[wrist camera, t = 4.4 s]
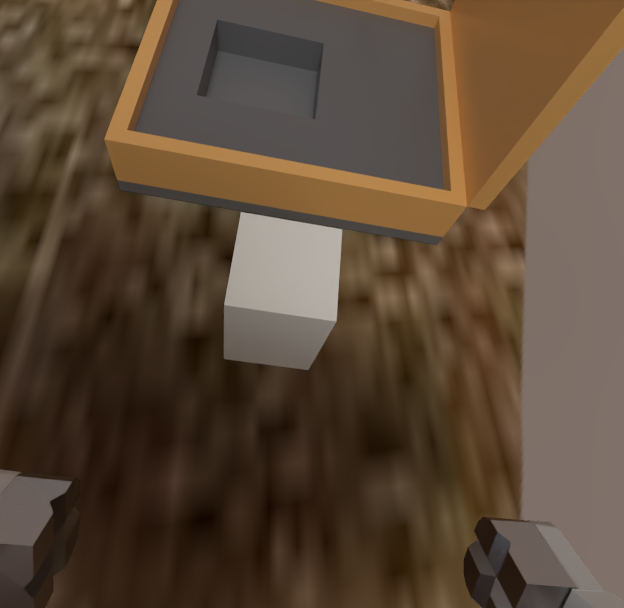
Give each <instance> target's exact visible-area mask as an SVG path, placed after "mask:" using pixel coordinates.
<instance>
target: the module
mask: <svg viewBox="0 0 624 608" xmlns="http://www.w3.org/2000/svg"><path fill="white" fill-rule="evenodd" d="M341 239H342V229H336V228H331V227H325V226H319V225H313V224H307V223H302V222H296V221H290V220H284V219H278V218H273V217H267V216H261V215H255V214H249V213H244V212H241V215H240V221H239V226H238V232H237V237H236V243H235V248H234V254H233V259H232V265H231V270H230V275H229V281H228V286H227V292H226V297H225V303H224V359H228V360H236V361H243V362H251V363H259V364H266V365H274V366H281V367H289V368H296V369H304V370H309V368H310V366H311V365H312V363H313V361H314V359H315V358H316V356H317V354H318V352H319V351H320V349H321V347H322V346H323V344H324V342H325V340H326V339H327V337H328V335H329V334H330V332H331V330H332V328H333V327H334V325H335V323H336V320H337V304H338V288H339V272H340V255H341Z"/></svg>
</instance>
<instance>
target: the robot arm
mask: <svg viewBox="0 0 624 608" xmlns="http://www.w3.org/2000/svg"><path fill="white" fill-rule="evenodd" d="M79 497H80V480H78V479H77V478H72V477H64V476H55V475H47V474H39V473H30V472H16V471H8V470H0V608H45V607H46V605H47V603H48V601H49V599H50V597H51V595H52V593H53V576H55V575H56V574H58V573H59V572H60V571H62V570H63V569H65V567H66V565H67V563H68V561H69V559H70V557H71V554H72V552H73V549H74V546H75V543H76V539H77V536H78V530H79V524H80V513H79V512H78V511H77V509H76V508H75V507H74V506H75V504H76V502H77V500H78V498H79ZM474 532H475V534H476V536H477V539H478V540H477V541H475V542H474V543H473V544H471V545H470V546H469V547H468V548H467V551H466V554H465V557H464V577H465V582H466V586H467V588H468V591H469V593H470V596H471V598H472V599H473V600H474V601H475V602H476V603H478V604H479V605H480V606H481V607H482V608H624V601H623V600H621V599H620V598H619V597H617V596H615V595H614V594H613V593H612V592H606V591H603V589H602V588H601V587H600V585H599V584H598V583H597V581H596V580H595V579H594V577H593V576H592V575H591V573H590V572H589V570H588V569H587V568H586V566H585V565H584V564H583V562H582V561H581V559H580V558H579V557H578V555H577V554H576V553H575V551H574V550H573V548H572V547H571V546H570V544H569V543H568V542H567V540H566V539H565V538H564V536H563V535H562V533H561V532H560V531H559V529H558V528H557V527H556V526H555V525H553V524H552V523H550V522H541V521H530V520H528V521H524V520H514V519H503V518H491V517H482V518H481V519H480V520H479V521H478V523H477V525H476V527H475V530H474Z"/></svg>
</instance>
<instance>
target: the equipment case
mask: <svg viewBox="0 0 624 608" xmlns="http://www.w3.org/2000/svg"><path fill="white" fill-rule="evenodd" d="M623 47H624V0H455V2H454V4H453V6H452V8H451V11H446V10H442V9H438V8H434V7H429V6H425V5H421V4H417V3H413V2H409V1H404V0H157V2H156V5H155V7H154V10H153V12H152V15H151V18H150V20H149V23H148V26H147V28H146V31H145V34H144V36H143V39H142V41H141V44H140V47H139V49H138V52H137V55H136V57H135V60H134V62H133V65H132V68H131V70H130V73H129V76H128V78H127V81H126V83H125V86H124V89H123V91H122V94H121V97H120V99H119V102H118V104H117V107H116V110H115V112H114V115H113V118H112V120H111V123H110V125H109V128H108V131H107V133H106V136H105V139H104V140H105V143H106V146H107V150H108V153H109V156H110V159H111V162H112V166H113V169H114V172H115V175H116V178H117V181H118V185H119V188H120V190H123V191H128V192H134V193H140V194H146V195H151V196H157V197H163V198H169V199H175V200H180V201H186V202H192V203H198V204H204V205H209V206H215V207H221V208H227V209H232V210H238V211H244V212H250V213H256V214H261V215H267V216H273V217H279V218H285V219H290V220H296V221H302V222H308V223H313V224H319V225H325V226H331V227H337V228H342V229H348V230H354V231H360V232H366V233H371V234H377V235H383V236H389V237H394V238H400V239H406V240H412V241H418V242H423V243H429V244H435V245H437V244H438V243H439V242H440V240H441V239H442V238H443V237H444V235H445V234H446V233H447V231H448V230H449V229H450V228H451V226H452V225H453V224H454V223H455V221H456V220H457V219H458V217H459V216H460V215H461V214H462V212H463V211H464V210H465V209H466V207H472V208H477V209H483V210H485V209H486V208H487V207H488V206H489V204H490V203H491V202H492V201H493V200H494V199H495V197H496V196H497V195H498V194H499V193H500V192H501V190H502V189H503V188H504V187H505V186H506V185H507V183H508V182H509V181H510V180H511V179H512V177H513V176H514V175H515V174H516V173H517V172H518V170H519V169H520V168H521V167H522V166H523V165H524V163H525V162H526V161H527V160H528V159H529V158H530V156H531V155H532V154H533V153H534V152H535V150H536V149H537V148H538V147H539V146H540V145H541V143H542V142H543V141H544V140H545V139H546V137H547V136H548V135H549V134H550V133H551V132H552V131H553V129H554V128H555V127H556V126H557V125H558V124H559V122H560V121H561V120H562V119H563V118H564V116H565V115H566V114H567V113H568V112H569V111H570V109H571V108H572V107H573V106H574V105H575V104H576V102H577V101H578V100H579V99H580V97H582V95H583V94H584V93H585V92H586V91H587V89H588V88H589V87H590V86H591V85H592V84H593V82H594V81H595V80H596V79H597V78H598V77H599V75H600V74H601V73H602V72H603V71H604V69H605V68H606V67H607V66H608V65H609V64H610V63H611V61H612V60H613V59H614V58H615V57H616V55H617V54H618V53H619V52H620V51H621V50H622V48H623Z"/></svg>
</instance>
